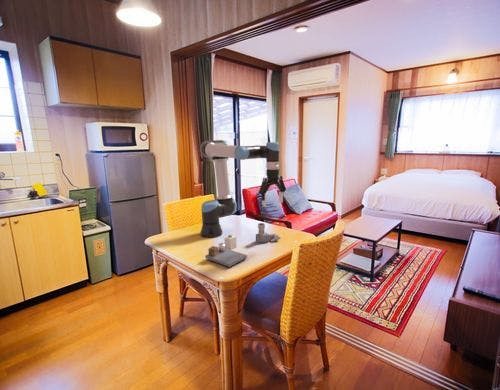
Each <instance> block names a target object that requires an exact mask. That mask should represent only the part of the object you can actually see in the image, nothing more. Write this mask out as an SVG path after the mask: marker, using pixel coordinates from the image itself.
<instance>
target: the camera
mask: <svg viewBox="0 0 500 390" xmlns="http://www.w3.org/2000/svg"><path fill="white" fill-rule="evenodd" d="M265 225H266V224H265V223H264V222H260V223H257V228H258V233H256V234H255V242H257V243H256V244H262V243H269V242H270V243H273V242H275V241H278V240H280V239H281V237H280V236H279V235H277V234H276V233H268V232H265V228H266V226H265Z"/></svg>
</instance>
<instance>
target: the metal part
mask: <svg viewBox="0 0 500 390" xmlns="http://www.w3.org/2000/svg"><path fill="white" fill-rule="evenodd" d="M218 247H219V252H225V242H224V243H223V242H222V243H221V242H220V243H219V244H218Z"/></svg>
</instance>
